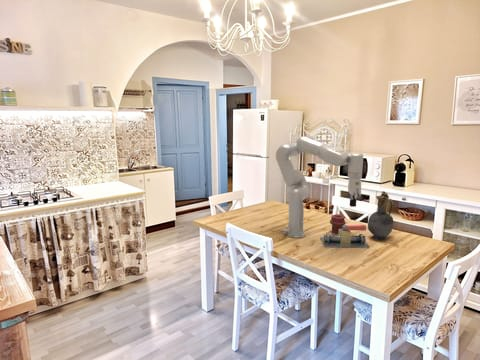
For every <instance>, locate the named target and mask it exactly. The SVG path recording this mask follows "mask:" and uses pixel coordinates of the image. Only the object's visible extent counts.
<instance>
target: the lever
mask: <svg viewBox="0 0 480 360" xmlns="http://www.w3.org/2000/svg"><path fill="white" fill-rule="evenodd" d="M342 230H343V231H350V232H351V231H363V232H364V231H367V225H365V224H354V225H353V224H351V225H350V224H349V225H348V224H345V225H343V226H342Z"/></svg>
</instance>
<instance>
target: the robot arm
mask: <svg viewBox="0 0 480 360" xmlns="http://www.w3.org/2000/svg"><path fill="white" fill-rule="evenodd" d="M325 145H326V144H324V143H323V142H321V141H318V140H316V139H315V138H314V137H312V136H311V135H302V136H299V137H298V138H297V139H296V141H294V142H290V143H289V142H288V143H284V144H282V145H280V146H279V147H278V148H277V150H276V152H275V161H276V162H277V163H276V164H277V165H278V168H279V170H280V173H281V175H282V178H283V181H284V184H285V185H286V186H287V187H293V188H291V189H290V190H288V193H287V200H288V226H287V227H285V228H284V227H281V228H280V229H281V232H283V233H285V235H286V236H287V237H289V238H295V239H299V238H304V237H305V236H306V232H305V231H304V213H305V211H304V210H305V207H304V203H303V201H304V200H306V199H307V198H309V196H310V193H311V192H310V191H311V190H310V187H309V185H308V182H307V179H306V178H305V175H304V173H303V172H302V171H301V170H299V169H295V167H294V165H293V163H292V161H291V160H290V157H295V156H297V155H300V154H302V153H304V152H306V153H308V154H311V155H313V156H315V157H317V158H319V159H320V160H322V161H323V162H325V163H328V164H329V165H332V166H336V167H341V166H345V165H348V167H347V169H348V170H347V178H348V184H347V185H348V186H347V192H348V193H349V207H350V208H351V207H353V208H354V207H356V206H357V199H358V196H361V195H362V180H361V179H362V177H363V165H364V164H363V163H364V154H363V153H361V152H360V153H359V152H348V151H341V152H336V151H334V150H332V149H330V148H327V146H325Z"/></svg>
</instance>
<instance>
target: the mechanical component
mask: <svg viewBox="0 0 480 360" xmlns="http://www.w3.org/2000/svg"><path fill="white" fill-rule="evenodd" d="M345 218H346V217H345V215H341V214H338V213H336V214H332V215H331V218H330V220H329V224H331V231H332V233H334V234H335V235H338V231H339V229H342V226H343V225H347V224H346V223H347V222H346V220H345Z"/></svg>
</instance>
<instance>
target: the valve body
mask: <svg viewBox="0 0 480 360" xmlns="http://www.w3.org/2000/svg"><path fill="white" fill-rule="evenodd" d="M320 240H321V242H322V245H323V247H324V248H334V249H335V248H340V249H342V248H343V249H345V248H347V249H349V248H350V249H370V247H371V246H370V245H369V244H368V243H367V242H366V240H367V239H366V235H364V234H363V233H359V234H358V235H354V234H353V235H352V232H351V231H343V230H342V229H339V231H338V234H330V233H329V232H326V233H325V234H323V236H320Z"/></svg>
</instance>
